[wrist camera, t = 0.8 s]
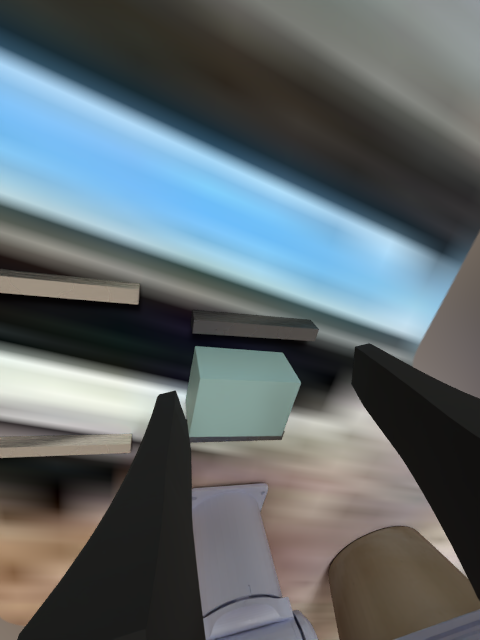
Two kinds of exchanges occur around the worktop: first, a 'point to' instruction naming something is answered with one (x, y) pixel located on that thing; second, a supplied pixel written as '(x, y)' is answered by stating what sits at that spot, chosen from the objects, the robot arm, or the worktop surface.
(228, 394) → the painted block
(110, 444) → the chute
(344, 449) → the worktop surface
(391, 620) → the plant pot
